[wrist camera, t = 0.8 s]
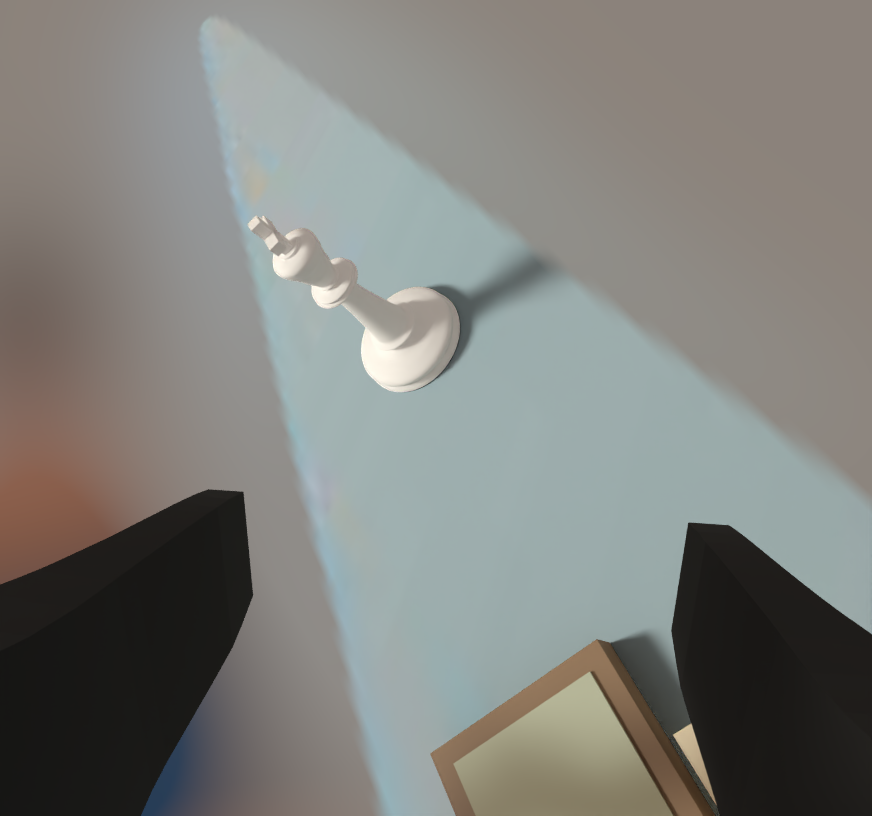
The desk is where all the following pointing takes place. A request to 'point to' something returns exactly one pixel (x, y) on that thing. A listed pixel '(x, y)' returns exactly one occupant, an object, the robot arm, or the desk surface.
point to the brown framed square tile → (570, 750)
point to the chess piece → (372, 310)
